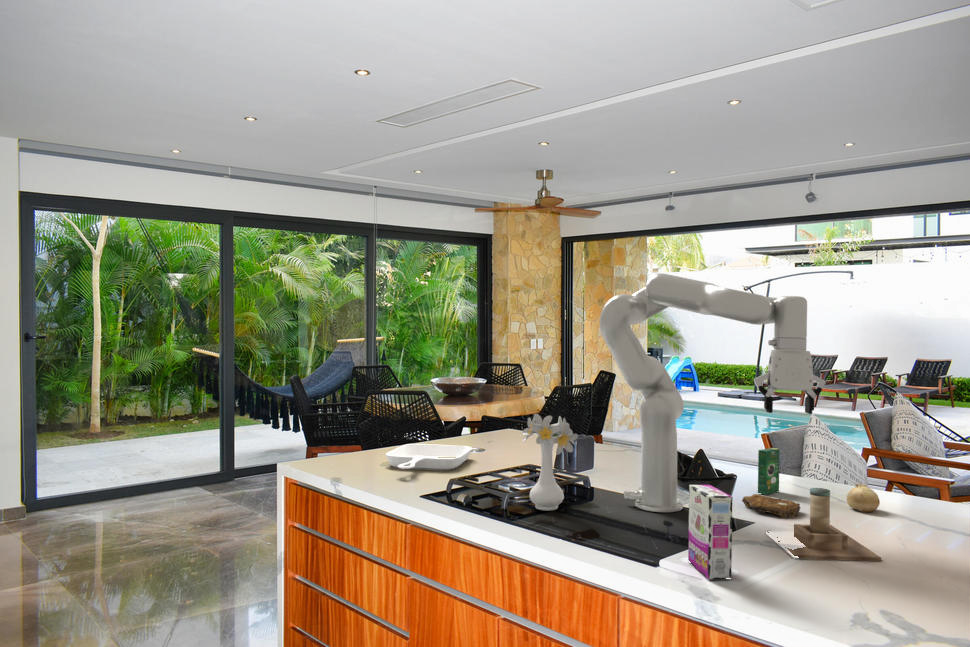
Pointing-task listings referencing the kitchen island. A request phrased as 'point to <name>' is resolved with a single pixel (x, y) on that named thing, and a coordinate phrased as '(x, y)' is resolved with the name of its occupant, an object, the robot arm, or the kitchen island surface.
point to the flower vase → (548, 458)
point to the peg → (819, 511)
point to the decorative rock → (772, 505)
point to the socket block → (830, 546)
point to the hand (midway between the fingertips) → (788, 412)
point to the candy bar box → (710, 531)
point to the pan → (428, 456)
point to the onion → (863, 498)
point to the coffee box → (768, 471)
